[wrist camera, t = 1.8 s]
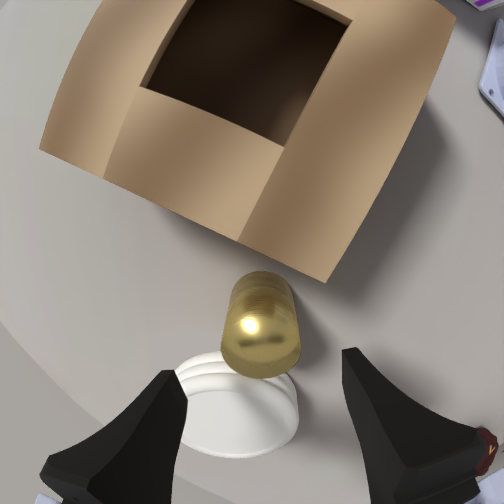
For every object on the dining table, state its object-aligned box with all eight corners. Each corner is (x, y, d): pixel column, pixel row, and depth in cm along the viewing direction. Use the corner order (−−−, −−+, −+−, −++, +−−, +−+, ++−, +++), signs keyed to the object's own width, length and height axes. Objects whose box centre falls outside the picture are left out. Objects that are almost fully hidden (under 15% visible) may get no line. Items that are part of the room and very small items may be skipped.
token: (304, 287, 18) (316, 335, 13) (274, 333, 19) (276, 387, 15) (247, 261, 18) (241, 304, 13) (221, 310, 19) (208, 362, 14)
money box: (393, 53, 13) (456, 17, 6) (302, 229, 17) (325, 283, 10) (205, -29, 11) (179, -94, 5) (113, 142, 15) (39, 148, 9)
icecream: (431, 487, 19) (461, 487, 23) (495, 461, 15) (507, 467, 20) (426, 434, 25) (456, 449, 29) (484, 406, 21) (499, 428, 25)
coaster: (206, 436, 24) (200, 465, 21) (146, 363, 21) (132, 395, 18) (310, 415, 23) (314, 447, 19) (270, 330, 19) (271, 365, 16)
